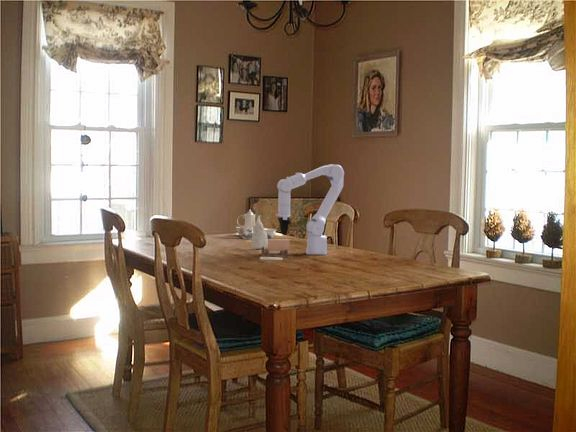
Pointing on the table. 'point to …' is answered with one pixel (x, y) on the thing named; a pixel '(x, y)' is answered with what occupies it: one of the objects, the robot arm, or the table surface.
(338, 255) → the table surface
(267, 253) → the rack
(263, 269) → the table surface
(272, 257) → the fired strip
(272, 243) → the salmon pink block
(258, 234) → the stone tool
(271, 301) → the table surface
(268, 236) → the chinaware
